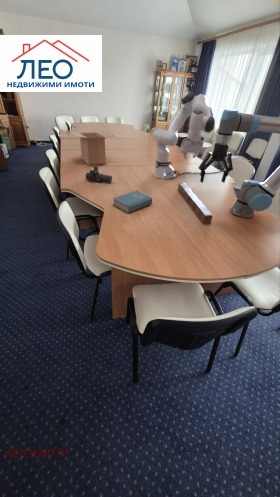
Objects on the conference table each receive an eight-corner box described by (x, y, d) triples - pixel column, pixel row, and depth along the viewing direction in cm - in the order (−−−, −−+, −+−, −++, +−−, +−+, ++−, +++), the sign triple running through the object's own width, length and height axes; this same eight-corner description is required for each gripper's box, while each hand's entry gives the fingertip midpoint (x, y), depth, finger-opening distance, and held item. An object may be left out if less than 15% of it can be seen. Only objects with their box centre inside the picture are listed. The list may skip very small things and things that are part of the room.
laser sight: (109, 184, 185) (109, 172, 179) (84, 181, 187) (82, 169, 182) (112, 180, 192) (112, 169, 186) (88, 177, 195) (87, 166, 189)
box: (116, 165, 229) (116, 136, 213) (83, 168, 214) (80, 137, 198) (102, 154, 259) (101, 128, 243) (71, 156, 244) (68, 129, 228)
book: (136, 197, 168) (136, 190, 165) (151, 204, 159) (152, 197, 156) (113, 204, 154) (112, 198, 151) (128, 213, 145) (128, 206, 142)
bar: (177, 189, 185) (178, 182, 181) (183, 189, 186) (184, 182, 182) (203, 223, 140) (205, 215, 137) (210, 223, 141) (212, 215, 138)
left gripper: (186, 139, 148) (182, 161, 156) (206, 137, 158) (201, 157, 167) (179, 137, 152) (176, 158, 160) (199, 136, 162) (195, 155, 171)
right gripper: (203, 144, 114) (194, 184, 126) (247, 145, 118) (234, 184, 130) (197, 141, 120) (190, 179, 132) (239, 142, 124) (228, 179, 136)
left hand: (189, 158), depth 164 cm, fingers open, 8 cm apart
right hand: (212, 182), depth 131 cm, fingers open, 13 cm apart
